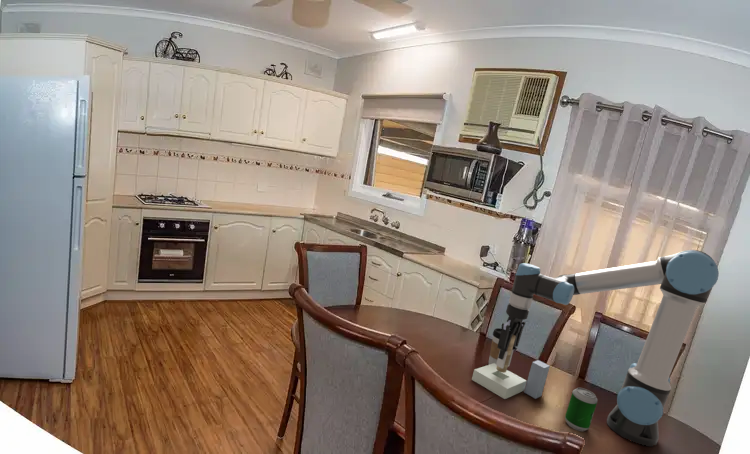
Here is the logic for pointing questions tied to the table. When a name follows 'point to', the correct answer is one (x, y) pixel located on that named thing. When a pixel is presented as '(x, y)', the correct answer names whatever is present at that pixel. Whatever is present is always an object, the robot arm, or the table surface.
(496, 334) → the coffee cup
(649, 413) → the robot arm
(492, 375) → the socket block
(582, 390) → the soda can
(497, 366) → the oak dowel
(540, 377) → the square peg
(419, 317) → the table surface
